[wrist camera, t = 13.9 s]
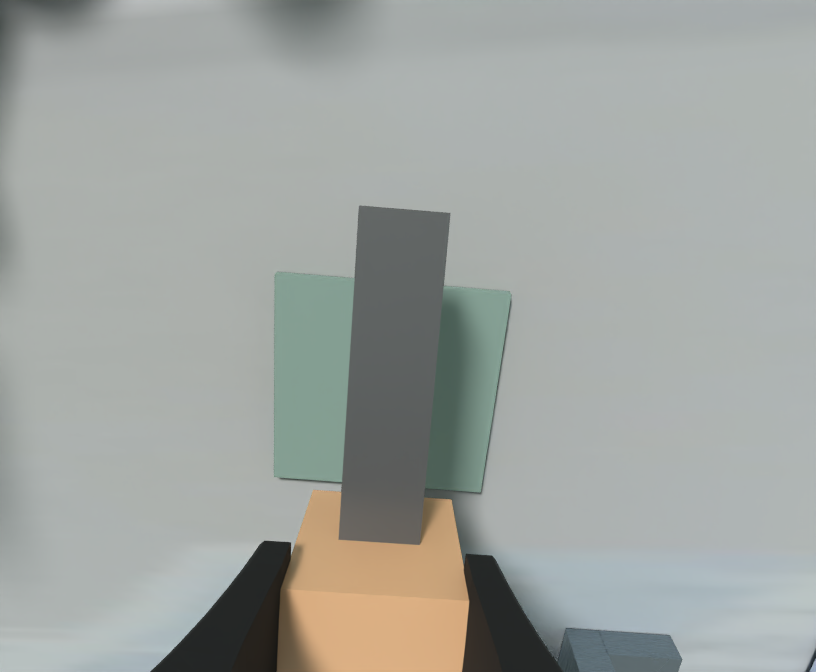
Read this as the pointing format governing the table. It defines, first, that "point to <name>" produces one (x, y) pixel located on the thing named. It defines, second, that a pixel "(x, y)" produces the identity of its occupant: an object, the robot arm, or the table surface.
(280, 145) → the table surface
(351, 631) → the plug
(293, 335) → the mat
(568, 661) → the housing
